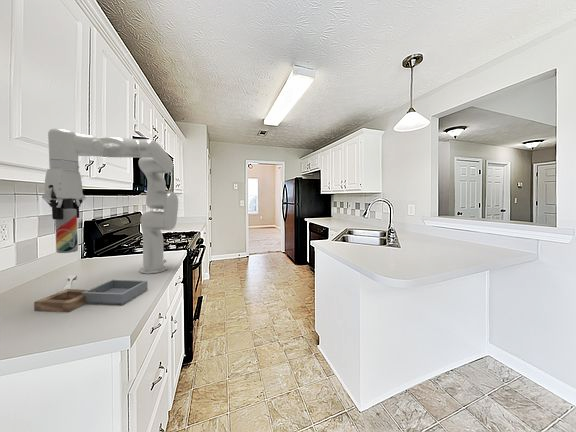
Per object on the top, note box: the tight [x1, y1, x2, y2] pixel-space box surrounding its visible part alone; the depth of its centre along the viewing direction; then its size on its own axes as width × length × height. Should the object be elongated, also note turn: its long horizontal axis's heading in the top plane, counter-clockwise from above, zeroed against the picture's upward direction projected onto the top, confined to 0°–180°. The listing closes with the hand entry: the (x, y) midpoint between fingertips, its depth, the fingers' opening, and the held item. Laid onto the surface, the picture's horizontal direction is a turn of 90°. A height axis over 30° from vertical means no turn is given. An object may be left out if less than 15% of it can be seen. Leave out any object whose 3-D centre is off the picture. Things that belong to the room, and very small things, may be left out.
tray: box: [81, 279, 148, 306], centre depth 96 cm, size 15×15×4 cm
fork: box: [62, 274, 77, 291], centre depth 110 cm, size 3×21×3 cm, turn 34°
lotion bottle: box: [54, 198, 79, 254], centre depth 87 cm, size 6×6×20 cm
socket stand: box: [33, 288, 98, 313], centre depth 88 cm, size 12×12×3 cm
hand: (66, 218), depth 86 cm, fingers closed on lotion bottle, 5 cm apart
